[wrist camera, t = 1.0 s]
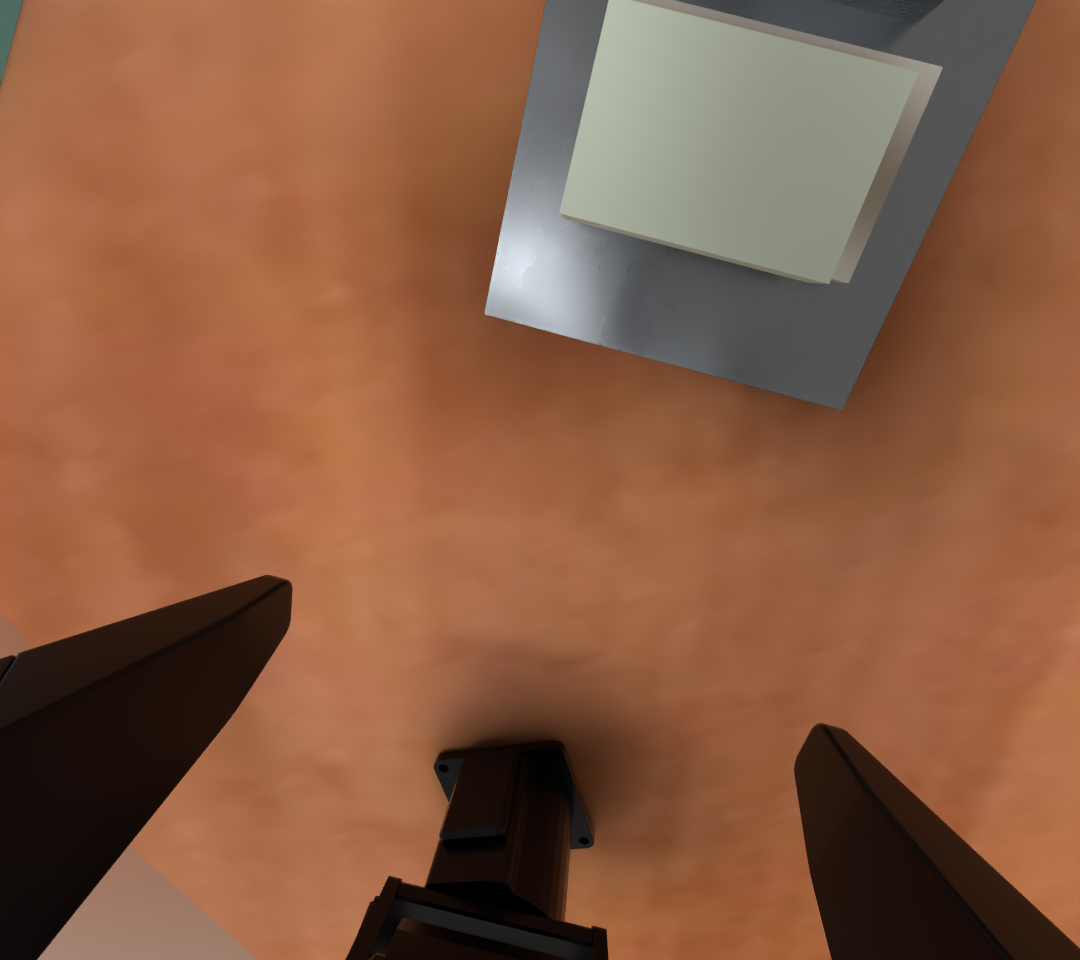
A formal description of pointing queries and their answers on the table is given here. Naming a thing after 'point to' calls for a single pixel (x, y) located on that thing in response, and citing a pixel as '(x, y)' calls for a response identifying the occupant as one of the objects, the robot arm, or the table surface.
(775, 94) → the offcut upper
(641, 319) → the offcut rack
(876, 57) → the offcut lower
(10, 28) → the plaque
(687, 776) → the table surface
